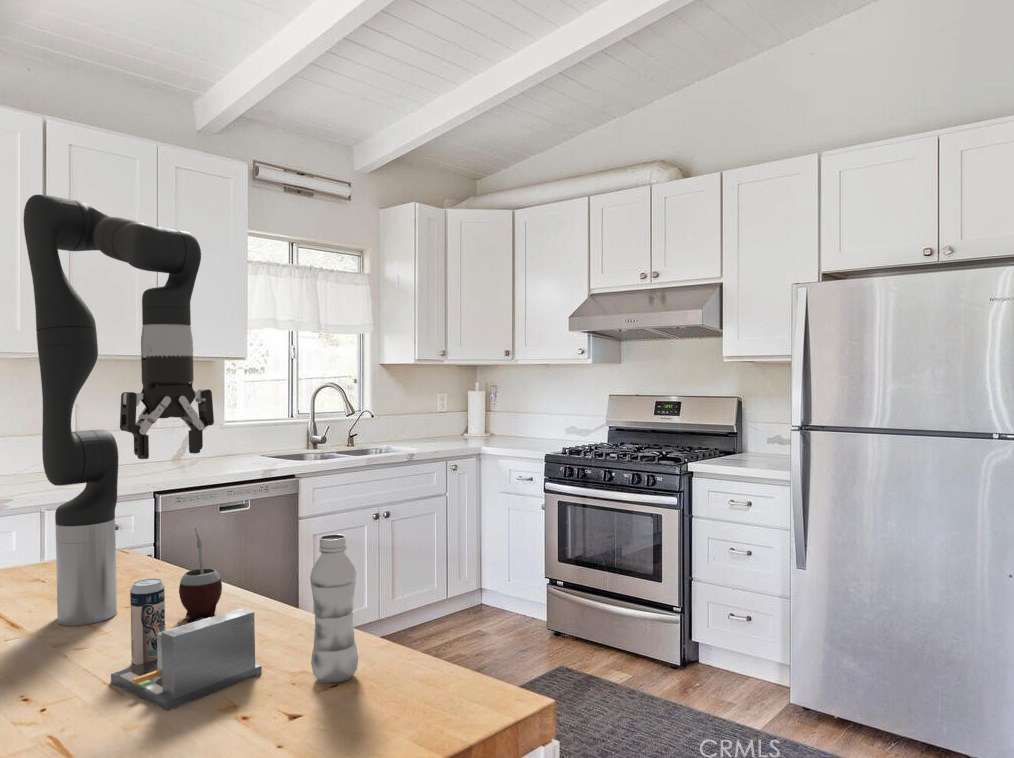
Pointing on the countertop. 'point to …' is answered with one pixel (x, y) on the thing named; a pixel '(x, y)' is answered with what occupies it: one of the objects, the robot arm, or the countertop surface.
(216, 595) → the mate gourd
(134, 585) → the beer can
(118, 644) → the countertop surface
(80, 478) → the robot arm
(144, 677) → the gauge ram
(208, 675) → the gauge base
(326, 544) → the plastic bottle
